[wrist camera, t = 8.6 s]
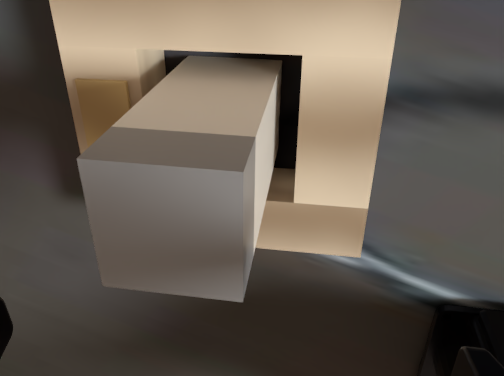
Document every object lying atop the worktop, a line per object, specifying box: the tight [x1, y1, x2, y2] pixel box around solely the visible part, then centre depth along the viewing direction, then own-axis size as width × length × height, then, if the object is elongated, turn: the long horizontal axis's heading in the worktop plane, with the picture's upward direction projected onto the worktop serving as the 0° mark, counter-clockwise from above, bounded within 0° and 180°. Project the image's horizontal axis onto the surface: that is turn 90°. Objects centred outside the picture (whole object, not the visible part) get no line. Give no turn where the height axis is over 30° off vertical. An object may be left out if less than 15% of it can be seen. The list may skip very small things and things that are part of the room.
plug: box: [77, 56, 282, 302], centre depth 16 cm, size 4×4×10 cm
